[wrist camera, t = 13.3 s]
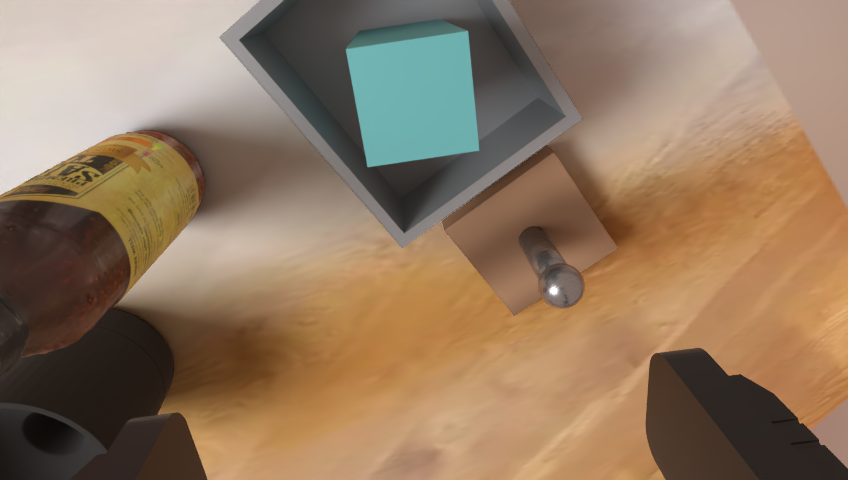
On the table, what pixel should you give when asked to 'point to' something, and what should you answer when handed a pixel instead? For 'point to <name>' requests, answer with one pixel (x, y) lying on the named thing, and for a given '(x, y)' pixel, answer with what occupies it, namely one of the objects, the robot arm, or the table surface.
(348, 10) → the bin
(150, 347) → the pen holder
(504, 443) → the table surface
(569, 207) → the base
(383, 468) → the table surface
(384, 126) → the strut
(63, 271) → the sauce bottle
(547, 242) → the ball stud
